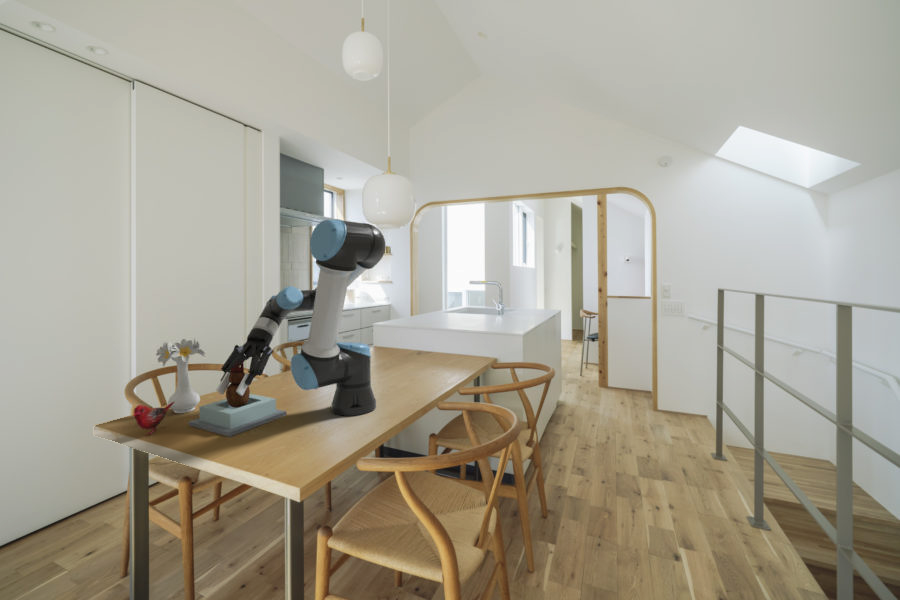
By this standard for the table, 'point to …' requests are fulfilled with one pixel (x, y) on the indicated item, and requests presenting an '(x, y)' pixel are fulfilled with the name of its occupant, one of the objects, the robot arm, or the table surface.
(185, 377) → the flower vase
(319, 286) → the robot arm
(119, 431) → the table surface
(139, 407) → the decorative bird figurine
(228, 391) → the wooden figurine
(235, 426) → the collar stand
